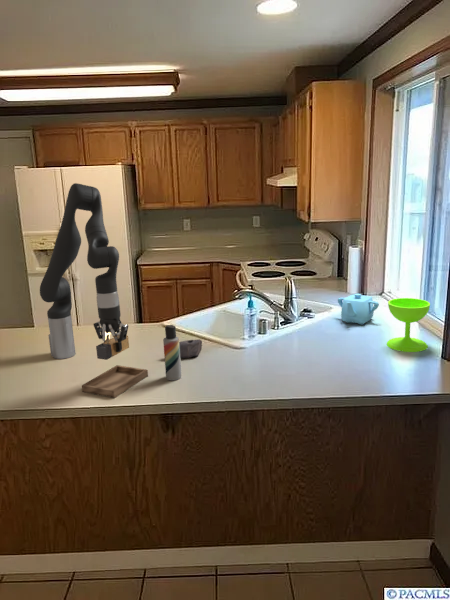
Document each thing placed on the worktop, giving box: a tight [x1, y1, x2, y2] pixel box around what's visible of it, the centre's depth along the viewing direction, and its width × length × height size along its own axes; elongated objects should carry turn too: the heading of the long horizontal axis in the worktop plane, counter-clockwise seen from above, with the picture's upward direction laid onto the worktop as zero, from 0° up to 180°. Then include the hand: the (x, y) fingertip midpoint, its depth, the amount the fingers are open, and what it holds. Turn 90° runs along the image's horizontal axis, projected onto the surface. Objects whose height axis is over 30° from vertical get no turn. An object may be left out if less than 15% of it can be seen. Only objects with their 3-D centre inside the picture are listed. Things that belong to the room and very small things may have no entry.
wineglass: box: [386, 297, 431, 353], centre depth 207 cm, size 16×16×18 cm
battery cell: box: [95, 335, 130, 360], centre depth 181 cm, size 4×14×4 cm, turn 155°
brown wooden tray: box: [81, 364, 149, 399], centre depth 184 cm, size 14×20×2 cm
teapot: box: [337, 293, 380, 326], centre depth 242 cm, size 18×16×14 cm
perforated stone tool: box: [179, 339, 203, 359], centre depth 207 cm, size 15×5×7 cm, turn 96°
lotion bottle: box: [162, 324, 183, 381], centre depth 185 cm, size 6×6×20 cm
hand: (113, 350), depth 181 cm, fingers closed on battery cell, 4 cm apart
